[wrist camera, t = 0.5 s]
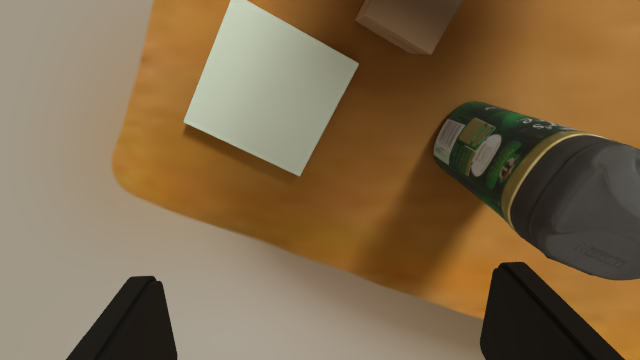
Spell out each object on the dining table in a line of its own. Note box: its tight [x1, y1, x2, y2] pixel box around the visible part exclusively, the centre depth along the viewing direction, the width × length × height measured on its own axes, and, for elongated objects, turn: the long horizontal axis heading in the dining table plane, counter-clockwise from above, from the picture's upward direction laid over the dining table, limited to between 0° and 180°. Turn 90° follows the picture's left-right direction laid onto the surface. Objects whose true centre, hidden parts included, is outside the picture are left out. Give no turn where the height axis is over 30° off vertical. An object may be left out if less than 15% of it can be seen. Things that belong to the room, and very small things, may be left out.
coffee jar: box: [434, 102, 640, 280], centre depth 27 cm, size 10×8×19 cm
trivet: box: [184, 0, 359, 176], centre depth 32 cm, size 12×12×2 cm
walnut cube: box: [354, 0, 463, 55], centre depth 28 cm, size 6×6×6 cm
